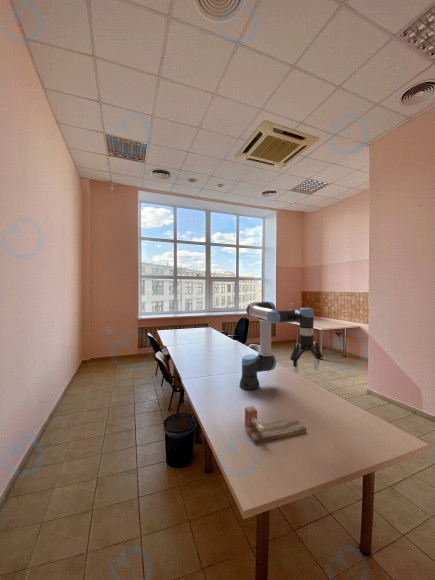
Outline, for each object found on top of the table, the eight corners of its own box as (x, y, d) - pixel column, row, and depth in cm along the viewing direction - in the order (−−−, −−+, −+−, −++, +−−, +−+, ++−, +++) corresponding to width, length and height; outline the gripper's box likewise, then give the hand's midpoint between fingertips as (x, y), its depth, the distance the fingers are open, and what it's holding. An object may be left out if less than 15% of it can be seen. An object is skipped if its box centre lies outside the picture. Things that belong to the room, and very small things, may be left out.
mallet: (244, 425, 129) (244, 407, 129) (253, 423, 131) (253, 406, 130) (257, 442, 115) (257, 422, 115) (266, 440, 116) (266, 421, 116)
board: (246, 431, 124) (246, 427, 124) (294, 421, 132) (294, 417, 132) (254, 443, 114) (254, 439, 114) (306, 432, 123) (306, 428, 123)
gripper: (291, 337, 127) (291, 376, 128) (328, 334, 134) (328, 370, 135) (284, 334, 134) (283, 371, 135) (319, 332, 142) (319, 366, 142)
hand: (306, 371), depth 135 cm, fingers open, 13 cm apart
